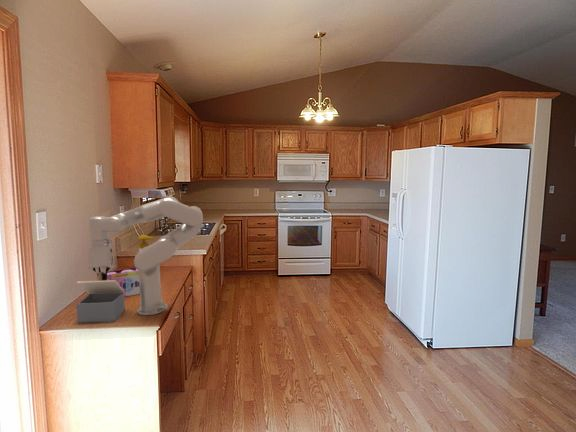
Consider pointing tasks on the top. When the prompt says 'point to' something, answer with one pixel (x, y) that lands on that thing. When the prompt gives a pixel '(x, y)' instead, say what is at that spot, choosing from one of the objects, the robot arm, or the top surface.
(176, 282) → the top surface
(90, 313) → the carton
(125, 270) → the gum box
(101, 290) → the carton flap
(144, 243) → the soap bottle
